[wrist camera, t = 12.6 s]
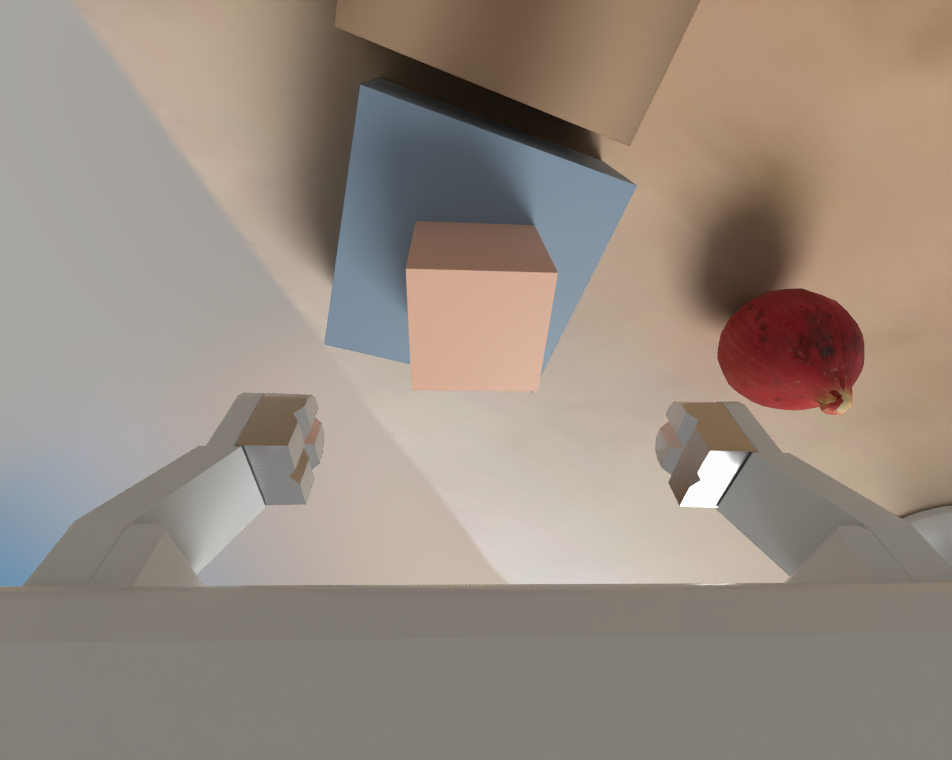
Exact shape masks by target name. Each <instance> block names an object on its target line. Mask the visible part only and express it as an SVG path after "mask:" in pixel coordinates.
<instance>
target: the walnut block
mask: <svg viewBox="0 0 952 760" xmlns="http://www.w3.org/2000/svg"><path fill="white" fill-rule="evenodd" d="M699 2H700V0H337V8H336V17H335V26H334V27H337V28H339V29H342V30H344V31H347V32H349V33H351V34H354V35H356V36H359V37H361V38H364V39H366V40H369V41H371V42H374V43H376V44H379V45H381V46H383V47H386V48H388V49H391V50H393V51H396V52H398V53H401V54H403V55H406V56H408V57H411V58H413V59H415V60H418V61H420V62H423V63H425V64H428V65H430V66H433V67H435V68H438V69H440V70H443V71H445V72H447V73H450V74H452V75H455V76H457V77H460V78H462V79H465V80H467V81H470V82H472V83H475V84H477V85H479V86H482V87H484V88H487V89H489V90H492V91H494V92H497V93H499V94H502V95H504V96H507V97H509V98H511V99H514V100H516V101H519V102H521V103H524V104H526V105H529V106H531V107H534V108H536V109H539V110H541V111H543V112H546V113H548V114H551V115H553V116H556V117H558V118H561V119H563V120H566V121H568V122H571V123H573V124H575V125H578V126H580V127H583V128H585V129H588V130H590V131H593V132H595V133H598V134H600V135H603V136H605V137H607V138H610V139H612V140H615V141H617V142H620V143H622V144H625V145H627V146H630V145H631V143H632V141H633V139H634V137H635V134H636V132H637V130H638V128H639V126H640V124H641V122H642V120H643V118H644V116H645V114H646V112H647V110H648V108H649V106H650V104H651V101H652V99H653V97H654V95H655V93H656V91H657V89H658V87H659V85H660V83H661V81H662V79H663V77H664V75H665V73H666V70H667V68H668V66H669V64H670V62H671V60H672V58H673V56H674V54H675V52H676V50H677V48H678V46H679V44H680V42H681V40H682V37H683V35H684V33H685V31H686V29H687V27H688V25H689V23H690V21H691V19H692V17H693V15H694V13H695V11H696V9H697V7H698V4H699Z"/></svg>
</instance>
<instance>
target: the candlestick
mask: <svg viewBox="0 0 952 760" xmlns="http://www.w3.org/2000/svg"><path fill="white" fill-rule="evenodd" d="M901 519H903V520H905V521H907V522H908V523H910V524H912V525H913V527H914V528H915V529H916V530H917V531H918V532H919V533H920V534H921V535H922V536H923V537H924V538H925V539H926V541H927V542H928V543H929V544H930V545H931V546H932V547H933V548H934V549H935V550H936V551H937V552H938V553H939V555H940V556H941V557H942V558H943V559H944V560H945V561H946V562H947V563H948V564H949V565H950V566H951V567H952V505H951V506H943V507H938V508H933V509H929V510H925V511H921V512H918V513H915V514H911V515H909V516H906V517H903V518H901Z"/></svg>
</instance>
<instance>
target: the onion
mask: <svg viewBox="0 0 952 760" xmlns="http://www.w3.org/2000/svg"><path fill="white" fill-rule="evenodd" d="M717 359H718V361H719V364H720V367H721V369H722V372H723V374H724V376H725V378H726V380H727V382H728V384H729V385H730V386H731V387H732V388H733V389H735V390H736V391H737V392H738V393H739V394H741V395H743V396H744V397H746V398H747V399H749V400H750V401H752V402H754V403H757V404H759V405H762V406H766V407H770V408H776V409H784V410H804V409H810V408H816V407H820V408H821V410H822V412H824V413H826V414H833V415H842V414H843V413H844V412H845V411H846V410H848V409H849V408H851V407H852V386H853V385H854V384H855V382H856V380H857V379H858V377H859V375H860V373H861V371H862V368H863V365H864V340H863V335H862V332H861V330H860V328H859V326H858V324H857V323H856V322H855V320H854V319H853V318H852V317H851V316H850V314H849V313H848V312H847V311H846V310H845V309H844V308H843V307H842V306H841V305H840V304H839V303H838V302H837V301H835V300H832V299H830V298H827V297H825V296H822V295H820V294H817V293H814V292H811V291H808V290H804V289H783V290H776V291H770V292H765V293H763V294H761V295H759V296H757V297H756V298H754V299H752V300H750V301H748V302H746V303H745V304H744V305H742V307H741V308H740V309H739V310H738V311H737V312H736V313H735V314H734V315H733V316H732V317H731V318H730V319H729V321H728V322H727V324H726V326H725V327H724V329H723V331H722V333H721V336H720V341H719V346H718V357H717Z"/></svg>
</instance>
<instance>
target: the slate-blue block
mask: <svg viewBox="0 0 952 760" xmlns="http://www.w3.org/2000/svg"><path fill="white" fill-rule="evenodd" d="M636 186H637V185H635V184H634V183H633V182H631V181H630V180H628V179H627V178H625V177H624V176H623V175H621V174H620V173H618V172H617V171H616V170H614V169H613V168H611V167H610V166H609V165H607V164H606V163H604V162H603V161H602V160H599V159H596V158H594V157H591V156H588V155H586V154H583V153H580V152H577V151H575V150H572V149H569V148H567V147H564V146H561V145H559V144H556V143H553V142H551V141H548V140H545V139H543V138H540V137H537V136H534V135H532V134H529V133H526V132H524V131H521V130H518V129H516V128H513V127H510V126H508V125H505V124H502V123H499V122H497V121H494V120H491V119H489V118H486V117H483V116H481V115H478V114H475V113H473V112H470V111H467V110H465V109H462V108H459V107H456V106H454V105H451V104H448V103H446V102H443V101H440V100H438V99H435V98H432V97H430V96H427V95H424V94H421V93H419V92H416V91H413V90H411V89H408V88H405V87H403V86H400V85H397V84H395V83H392V82H389V81H387V80H384V79H381V78H378V79H375V80H372V81H369V82H366V83H363V84H361V85H360V90H359V97H358V104H357V111H356V119H355V126H354V133H353V140H352V148H351V155H350V162H349V169H348V177H347V184H346V191H345V198H344V206H343V213H342V220H341V227H340V235H339V242H338V249H337V256H336V264H335V271H334V278H333V285H332V293H331V300H330V307H329V314H328V322H327V329H326V336H325V343H324V344H325V345H330V346H334V347H338V348H343V349H347V350H351V351H356V352H360V353H364V354H369V355H373V356H377V357H381V358H386V359H390V360H394V361H399V362H403V363H407V364H410V346H409V326H408V306H407V286H406V265H407V260H408V255H409V250H410V245H411V240H412V236H413V231H414V226H415V221H428V222H456V223H485V224H513V225H535V227H536V229H537V231H538V233H539V235H540V237H541V239H542V241H543V243H544V245H545V247H546V249H547V251H548V254H549V256H550V258H551V260H552V262H553V264H554V266H555V268H556V270H557V272H558V276H557V282H556V288H555V293H554V299H553V305H552V311H551V317H550V323H549V329H548V335H547V340H546V346H545V352H544V358H543V364H542V370H541V375H542V373H543V371H544V369H545V367H546V365H547V363H548V361H549V359H550V357H551V355H552V353H553V351H554V349H555V347H556V345H557V343H558V341H559V339H560V337H561V335H562V333H563V331H564V329H565V327H566V325H567V323H568V321H569V319H570V317H571V316H572V314H573V312H574V310H575V308H576V306H577V304H578V302H579V300H580V298H581V296H582V294H583V292H584V290H585V288H586V286H587V284H588V282H589V280H590V278H591V276H592V274H593V272H594V270H595V268H596V266H597V264H598V262H599V260H600V258H601V256H602V254H603V252H604V250H605V248H606V246H607V244H608V242H609V240H610V238H611V236H612V234H613V232H614V230H615V228H616V226H617V224H618V222H619V220H620V218H621V216H622V214H623V212H624V210H625V208H626V206H627V204H628V202H629V200H630V198H631V196H632V194H633V192H634V190H635V188H636ZM540 377H541V376H540ZM529 392H533V391H529Z"/></svg>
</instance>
